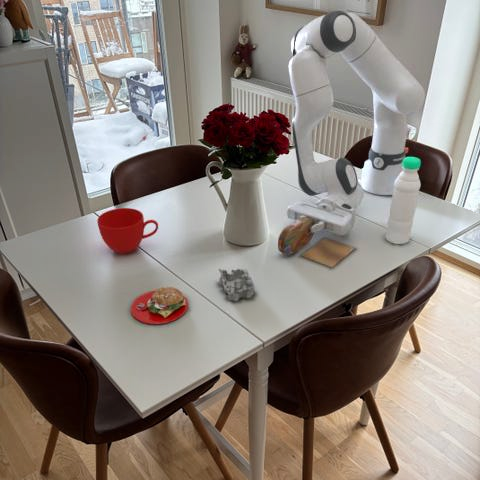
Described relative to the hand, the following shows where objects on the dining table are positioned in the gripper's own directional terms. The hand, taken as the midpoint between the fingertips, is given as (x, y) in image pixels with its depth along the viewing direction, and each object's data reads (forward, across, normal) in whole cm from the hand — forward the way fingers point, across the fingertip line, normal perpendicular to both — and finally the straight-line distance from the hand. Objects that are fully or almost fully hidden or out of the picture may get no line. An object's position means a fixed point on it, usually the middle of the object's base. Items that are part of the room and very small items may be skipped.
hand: (304, 227), depth 146 cm
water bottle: (-20, +20, +6) cm, 29 cm away
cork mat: (0, +8, +6) cm, 10 cm away
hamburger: (+48, -11, +5) cm, 50 cm away
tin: (+4, -1, +5) cm, 7 cm away
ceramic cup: (+33, -39, +5) cm, 51 cm away
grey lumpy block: (+30, -1, +6) cm, 31 cm away
